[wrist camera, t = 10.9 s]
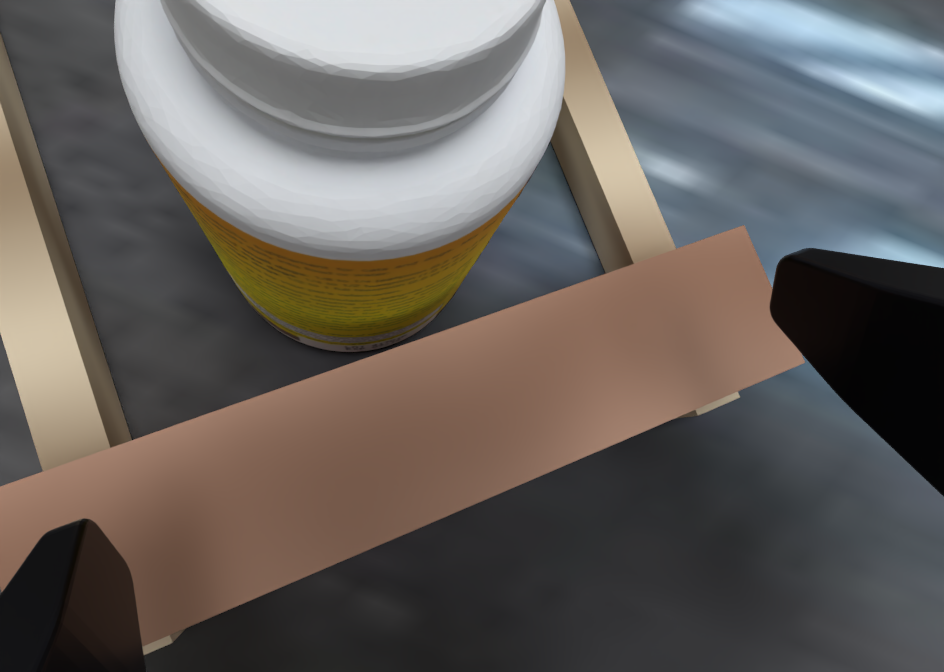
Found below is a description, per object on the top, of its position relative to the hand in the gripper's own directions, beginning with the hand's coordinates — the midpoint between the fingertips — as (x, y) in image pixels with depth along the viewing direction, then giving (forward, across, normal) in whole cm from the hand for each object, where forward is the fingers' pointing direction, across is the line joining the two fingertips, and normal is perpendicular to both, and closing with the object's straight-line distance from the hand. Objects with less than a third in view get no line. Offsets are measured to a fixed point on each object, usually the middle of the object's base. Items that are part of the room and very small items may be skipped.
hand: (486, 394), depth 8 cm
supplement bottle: (+9, 0, +2) cm, 9 cm away
